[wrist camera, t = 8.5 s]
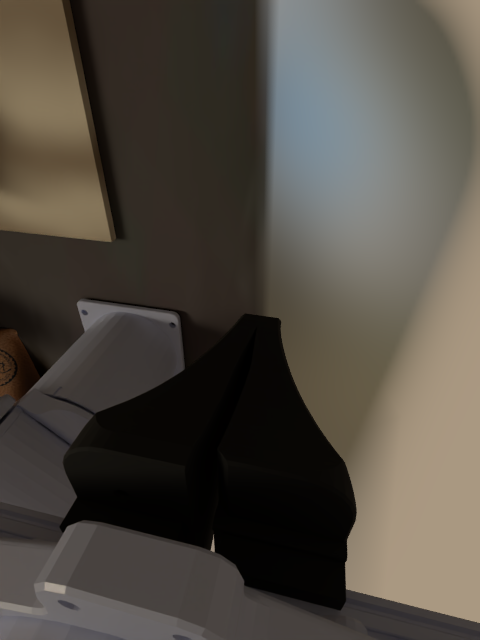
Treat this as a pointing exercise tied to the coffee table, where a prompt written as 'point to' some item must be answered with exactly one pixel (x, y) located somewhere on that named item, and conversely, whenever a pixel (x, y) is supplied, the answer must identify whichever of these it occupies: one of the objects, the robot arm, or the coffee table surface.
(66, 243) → the coffee table surface
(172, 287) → the coffee table surface
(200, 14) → the coffee table surface
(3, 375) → the sunglasses case
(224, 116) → the coffee table surface
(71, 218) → the base board
